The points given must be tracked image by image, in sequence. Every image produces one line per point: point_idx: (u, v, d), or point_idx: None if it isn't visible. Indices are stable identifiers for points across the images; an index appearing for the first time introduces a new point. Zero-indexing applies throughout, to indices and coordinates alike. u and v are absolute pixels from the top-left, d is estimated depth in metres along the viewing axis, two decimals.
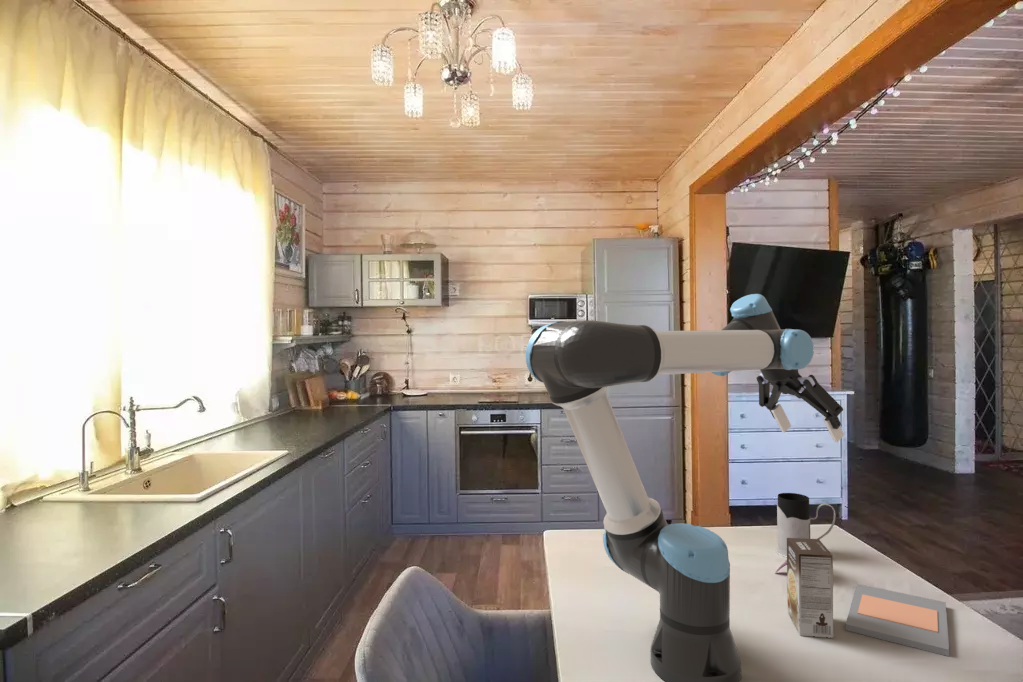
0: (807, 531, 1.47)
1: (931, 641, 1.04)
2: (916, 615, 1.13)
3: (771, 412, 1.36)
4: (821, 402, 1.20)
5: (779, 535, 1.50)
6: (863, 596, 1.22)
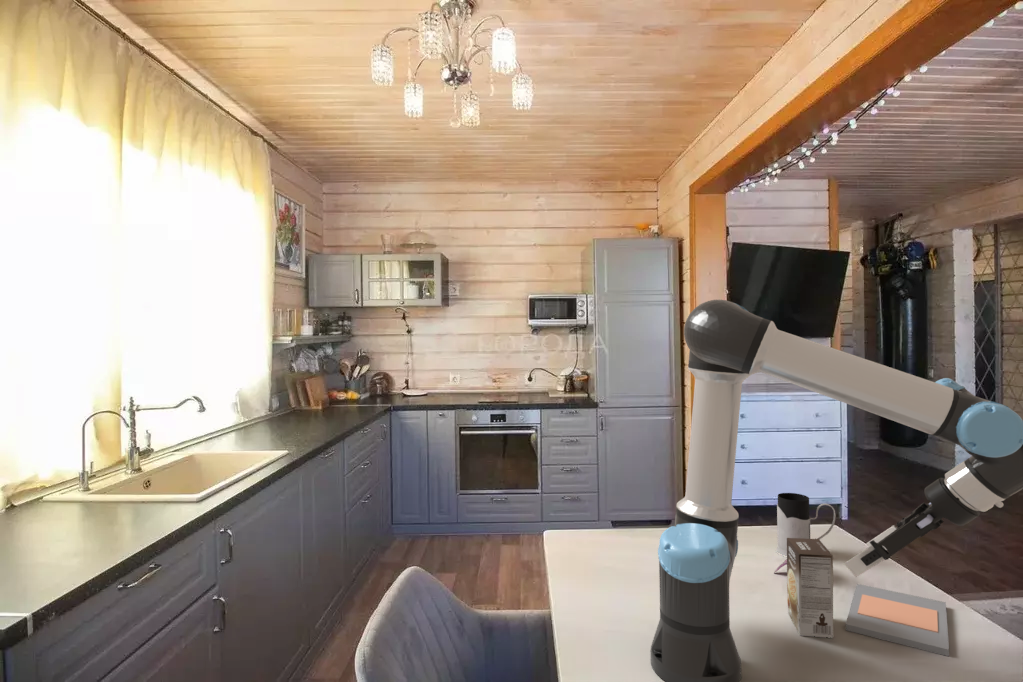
0: (807, 531, 1.47)
1: (931, 641, 1.04)
2: (916, 615, 1.13)
3: None
4: (893, 532, 0.96)
5: (779, 535, 1.50)
6: (863, 596, 1.22)
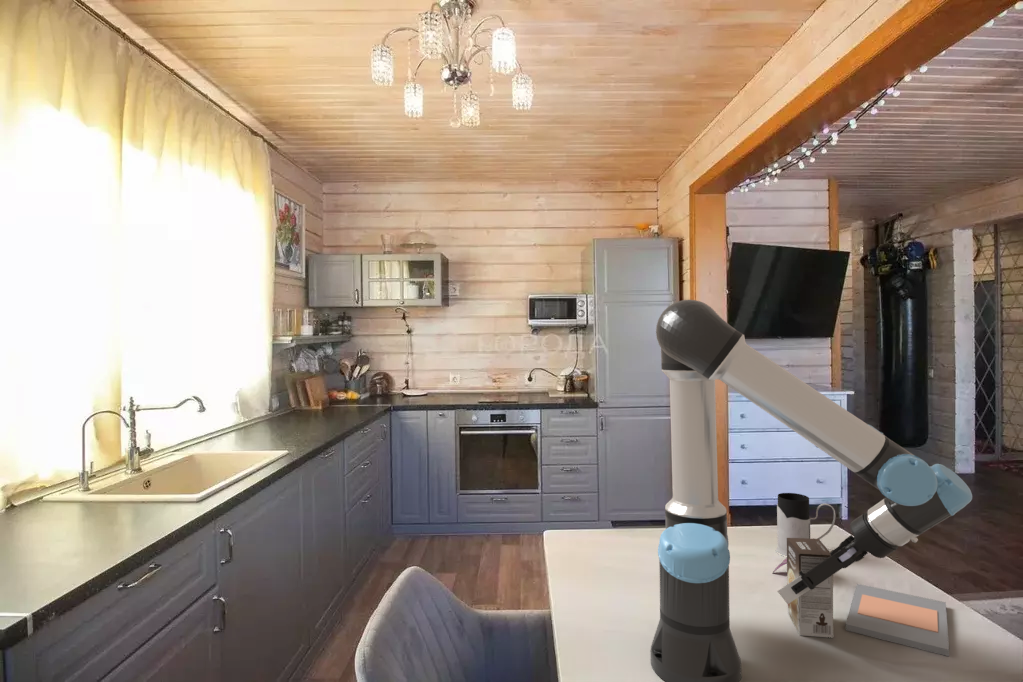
0: (807, 531, 1.47)
1: (931, 641, 1.04)
2: (916, 615, 1.13)
3: None
4: (818, 565, 1.05)
5: (779, 535, 1.50)
6: (863, 596, 1.22)
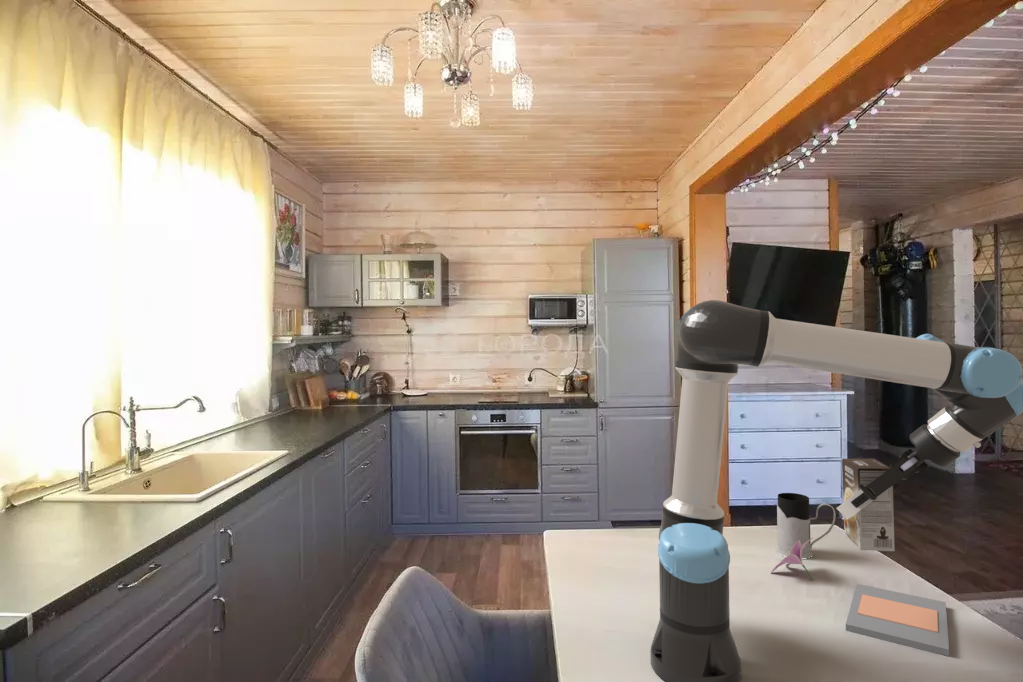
0: (807, 531, 1.47)
1: (931, 641, 1.04)
2: (916, 615, 1.13)
3: None
4: (880, 476, 1.05)
5: (779, 535, 1.50)
6: (863, 596, 1.22)
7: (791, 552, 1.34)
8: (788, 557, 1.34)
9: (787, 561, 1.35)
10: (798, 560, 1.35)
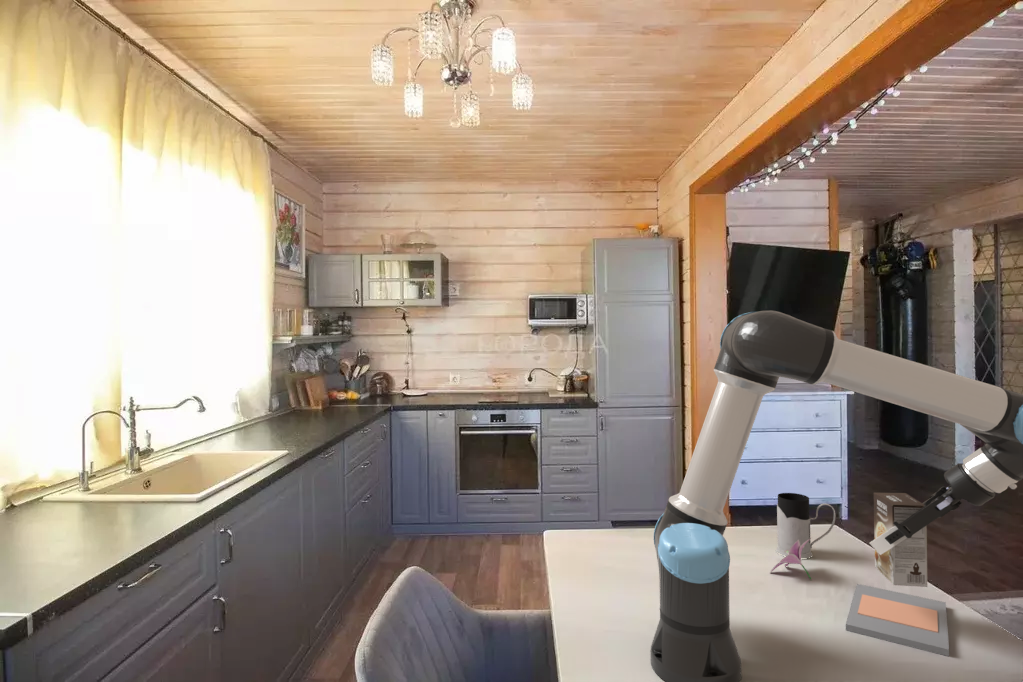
0: (807, 531, 1.47)
1: (931, 641, 1.04)
2: (916, 615, 1.13)
3: None
4: (915, 514, 1.07)
5: (779, 535, 1.50)
6: (863, 596, 1.22)
7: (790, 552, 1.35)
8: (787, 557, 1.34)
9: (786, 561, 1.35)
10: (797, 560, 1.35)
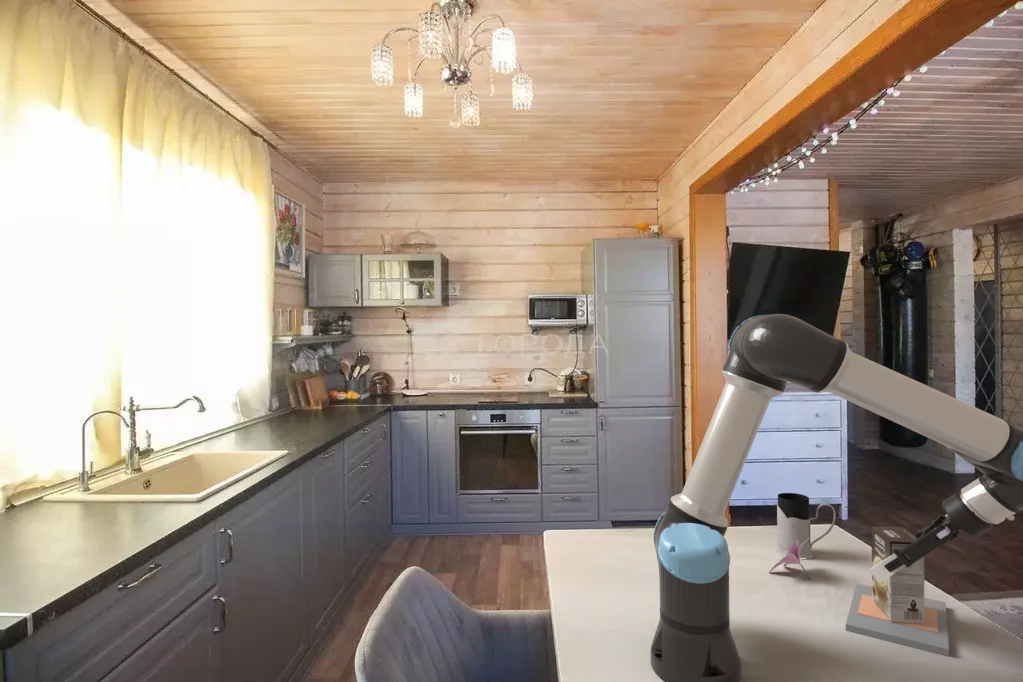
0: (807, 531, 1.47)
1: (931, 641, 1.04)
2: None
3: None
4: (915, 542, 1.06)
5: (779, 535, 1.50)
6: (863, 596, 1.22)
7: (789, 552, 1.35)
8: (786, 557, 1.34)
9: (785, 561, 1.35)
10: (796, 560, 1.35)
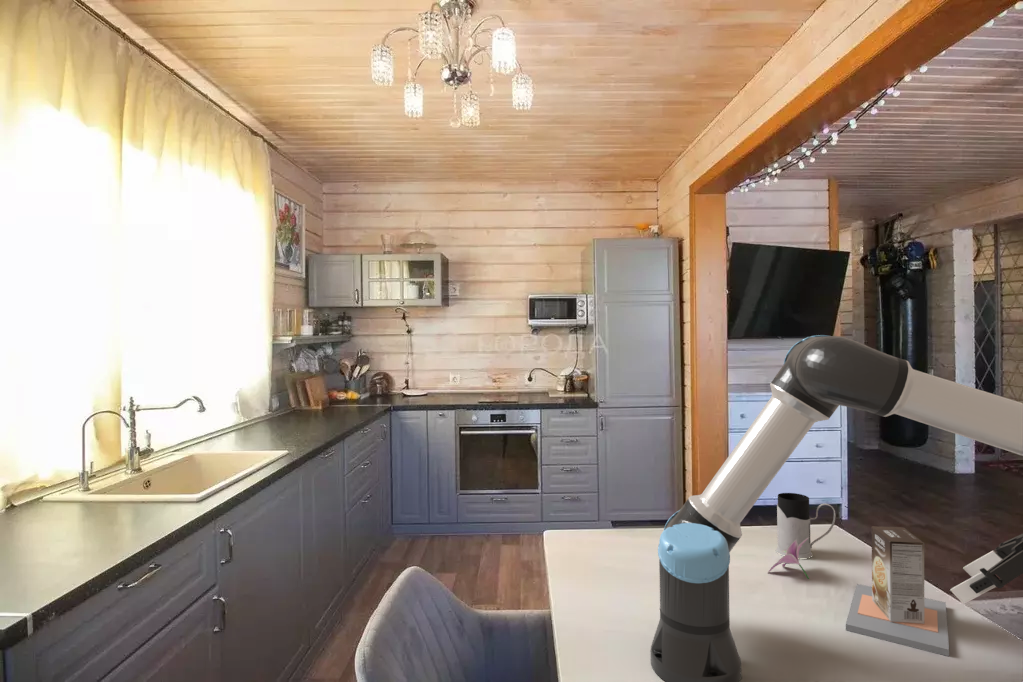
0: (807, 531, 1.47)
1: (931, 641, 1.04)
2: None
3: None
4: (1006, 561, 0.97)
5: (779, 535, 1.50)
6: (863, 596, 1.22)
7: (788, 552, 1.35)
8: (785, 557, 1.34)
9: (784, 561, 1.35)
10: (795, 560, 1.35)
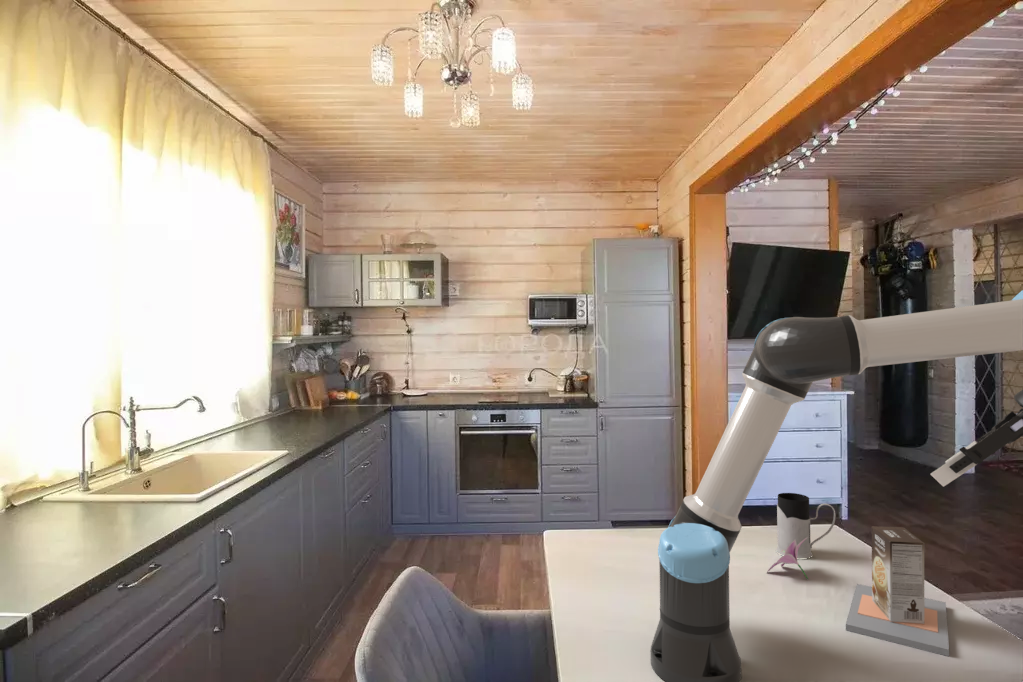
0: (807, 531, 1.47)
1: (931, 641, 1.04)
2: None
3: None
4: (986, 437, 0.95)
5: (779, 535, 1.50)
6: (863, 596, 1.22)
7: (787, 552, 1.35)
8: (784, 557, 1.34)
9: (783, 561, 1.36)
10: (794, 560, 1.35)
